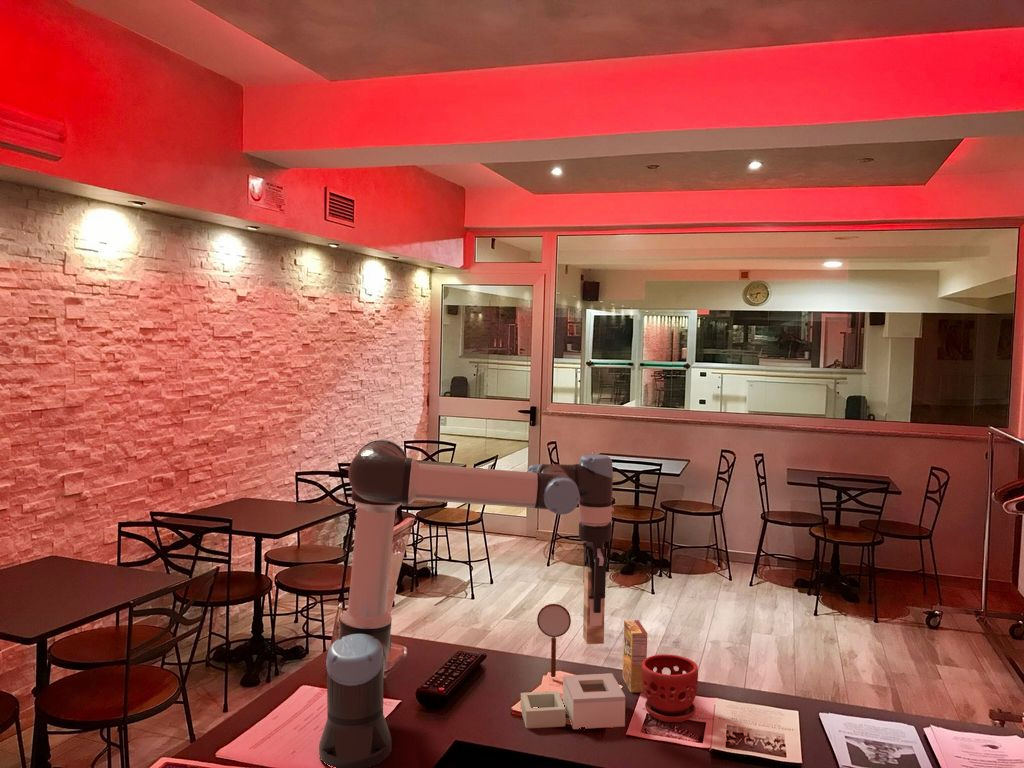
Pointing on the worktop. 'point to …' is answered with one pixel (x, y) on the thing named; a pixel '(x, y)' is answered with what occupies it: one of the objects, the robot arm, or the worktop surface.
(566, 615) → the magnifying glass
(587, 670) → the worktop surface
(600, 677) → the white box with opening
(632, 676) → the candy box
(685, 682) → the plant pot
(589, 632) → the wooden square peg
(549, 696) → the cream square open box
